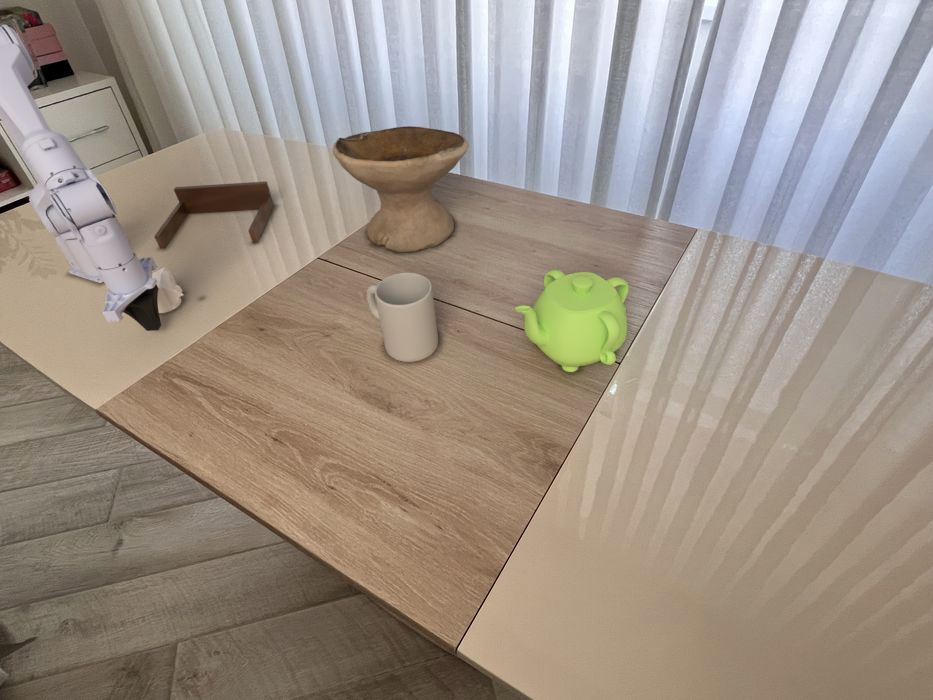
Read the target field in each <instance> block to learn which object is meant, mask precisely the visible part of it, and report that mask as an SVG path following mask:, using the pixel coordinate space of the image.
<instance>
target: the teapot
mask: <svg viewBox="0 0 933 700" xmlns="http://www.w3.org/2000/svg"><path fill="white" fill-rule="evenodd" d="M543 285H544V289H543V290H542V292H541V293H540V295H539V296H538V297H537V299H536V300H535V303H534V304H533V306H532V307H531V306H529V305H518V306H516V307H514V310H515V311H516V312H517V313H520V314H522V315H523V318H524V322H523V329H524V333H525V335H526V337H527V339H529V341H531V343H533V344H535V345H536V346H537V347H538V348H539V349H540V351H542V353H544V355H546V356H547V357H548V358H549V359H550V360H551V361H553V362H554V363H556V364H557V365H560V366H561V368H562V370H563V371H565V372H568V373H573V372H576V371H577V370H579V367H585V366H589V365H592V364H595V363H598V362H601V363H602V364H604V365H607V366H610V365H614V364H615V362H616V361H617V355H616V354H615V352H616V351H618V349H620V347H622V345H623V344H624V342H625V341H626V339H627V334H628V315H627V308H626V306H625V304H624V303H625V301H626V299H627V296H628V294H629V288H630V287H629V283H628V282H627V281H626V279H624V278H622V277H618V276H613V277H610V278H608V279H607V280H606V279H604V278H603V277H601V276H599V275H598V274H596V273H593V272H589V271H581V272H580V271H579V272H574V273H571V274H570V273H569V274H565V273H564V272H563V271H562V270H560V269H551V270H549V271H547V272H546V273H545V274H544V276H543ZM616 287H618V290H617V289H616Z"/></svg>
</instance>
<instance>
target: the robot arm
mask: <svg viewBox="0 0 933 700" xmlns="http://www.w3.org/2000/svg"><path fill="white" fill-rule="evenodd" d="M34 70H35V65H34V62H33V60H32V58H31V56H30V54H29V52H28V49H27V48H26V46H25V45H24V43H23V41H22V39H21V38H20V36H19V35H18V33H17V32H16V30H14V28H12V27H11V26H9V25H7V24H1V25H0V121H1V123H2V124H3V125H4V127H5V129H6V130H7V132H8V134H9V135H10V137H11V139H12V140H13V142H14V144H15V145H16V147H17V149H18V150H19V152H20V153H21V155H22V157H23V159H24V161H25V162H26V164H27V165H28V167H29V169H30V171H31V172H32V174H33V175H34V177H35V178H36V180H37V183H36V185H35V186H34V187H33V189H32V190H31V191H30V192H29V194H28V197H29V198H28V200H29V202H30V204H31V205H32V207H33V211H34V212H35V214H36V215H37V216H38V218H39V220H40V222H42V224H43V226H44V227H45V229H46V230H47V232H48V234H49V235H50V236H52V237H55V242H56V243H55V244H56V245H57V247H58V248H59V250H60V252H61V254H62V255H63V256H64V257H65V260H66V261H67V262H68V265H69V266H70V267H71V269H70V270H68V273H69V275H72V276H73V275H74V276H77V277H80V278H83V279H86V280H89V281H92V282H95V283H98V284H105V286H106V295H105V302H104V307H103V309H102V310H101V313H100V314H102V316H103V317H104V319H105V321H106V322H107V323H118V322H120V323H121V322H122V320H123V319H124V316H123V315H122V314H123V313H124V314H125V315H127V316H129V317H130V318H132V319H133V320H134V321H135V322H137V323H138V325H140V326H141V327H142V328H143V329H144V331H146V332H154V331H155V332H156V331H160V329H161V327H162V320H161V315H160V313H159V310H158V302H157V296H158V289H159V288H158V287H157V285H156V283H157V280H156V279H155V278H152V274H153V271H157V268H158V265H157V263H156V261H155V259H154V257H152V256H150V257H149V256H148V257H140V259H139V257H138V255H137V253H136V251H135V250H134V248H133V246H132V244H131V242H130V240H129V239H128V236H127V235H126V233H125V231H124V229H123V227H122V226H121V223H120V221H119V220H118V218H117V215H118V211H117V208H116V205H115V202H114V200H113V199H112V196H111V195H110V193H109V192H108V190H107V189H106V187H105V186H104V183H102V182H101V181H100V180H99V179H98V177H97V176H96V175H95V174H94V173H93V171H92V170H91V169H90V168H87V166H86V164H85V163H84V162H83V161H82V159H81V157H80V155H79V154H78V153H77V151H76V150H75V148H74V147H73V145H72V144H71V142H70V141H69V139H68V138H67V137H66V136H65V135H64V134H62V133H60V132H57V131H54V130H51V128H50V126H49V124H48V123H47V121H46V119H45V117H44V115H43V114H42V112H41V109H40V108H39V106H38V104H37V102H36V100H35V98H34V96H33V95H32V93H31V91H30V89H29V87H28V86H29V85H31V84H32V82H33V81H35V76H34Z"/></svg>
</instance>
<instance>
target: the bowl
mask: <svg viewBox="0 0 933 700" xmlns="http://www.w3.org/2000/svg"><path fill="white" fill-rule="evenodd" d="M469 146H470V145H469V141H468V140H467V138H465V136H464V135H462V134H459V133H456V132H454V131H453V132H452V131H448V130H442V129H438V128H429V127H423V126H410V125H408V126H398V127H391V128H385V129H380V130H372V131H365V132H359V133H355V134H352V135H348V136H347V137H338V138H337V139H336V140H335V142H334V143H333V146H332V153H333V154H332V155H333V156H334V158H335V159H336V161H337V163H339V165H340V166H341V167H342V169H344V170H345V171H346V172H347V173H348V174H349V175H350V176H351V177H352V178H354V179H355V180H356V181H358V182H360V183H362V184H363V185H365V186H367V187H369V188H370V189H372V190H374V191H376V193H377V194H378V197H379V201H380V208H379V210H378V211H377V212H376V213H375V214H374V215H373V216H372V217H371V218H370V220H369V221H368V224H367V229H366V234H367V235H366V236H367V238H368V240H369V241H370V242H371V243H372V244H373V245H374V246H376V247H384V248H385V249H386V250H388V251H391V252H395V253H409V252H410V253H411V252H418V251H422V250H426V249H429V248H434V247H436V246H438V245H440V244H443V243H444V242H445V241H446V240H448V239H449V238H450V237H451V236H452V234H453V233H454V232H455V231H454V229H455V221H454V218H453V216H452V214H451V213H450V212H449V211H448V210H447V209H446V208H445V206H444V205H442V204H441V203H440V202H439V201H438V200H435V198H434V197H433V194H432V193H433V187H434V185H435V184H436V183H437V182H438V181H440V180H441V179H443V178H444V177H445V176H446V175H447V174H448V173H450V172H451V171H452V170H453V169H454V168H455V167H456V166H457V165H458V163H459V162H460V160H462V157H464V156H465V154H466V153H467V151H468V149H469V148H470V147H469Z"/></svg>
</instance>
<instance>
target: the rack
mask: <svg viewBox="0 0 933 700" xmlns="http://www.w3.org/2000/svg"><path fill="white" fill-rule="evenodd" d="M173 191H174V193H175V196H176V198H177V200H178V203H177V204H176V205H175V207H174V208H173V209H172V211H171V212H170V214H169V215H168V217H167V218H166V219H165V221H164V222H163V223H162V224H161V226H160V228H159V229H158V230H157V231H156V233H155V234H154V239H155V241H156V243H157V246H158V247H159V249H161V250H164V249H166V248H167V247H168V245H169V243H170V242H171V240H173V237H174V236H175V235H176V233H177V232H178V230H179V229H180V227H182V225H183V223H184V222H185V220H186V219H187V217H188V216H189V215H190V214H191V215H192V214H206V213H207V214H209V213H225V212H241V211H257V212H256V214H255V216H254V218H253V220H252V222H251V225H250V226H249V228H248V233H249V235H250V239H251V242H252V244H258V243H259V241H260V239H261V236H262V234H263V233H264V230H265V228H266V226H267V223H268V222H269V219H270V217H271V215H272V213H273V210H274V208H275V203H274V201H273V197H272V193H271V191H270V188H269V184H268V181H265V180H264V181H251V182H235V183H234V182H233V183H217V184H202V185H201V184H200V185H187V186H175V187H174V188H173Z"/></svg>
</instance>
